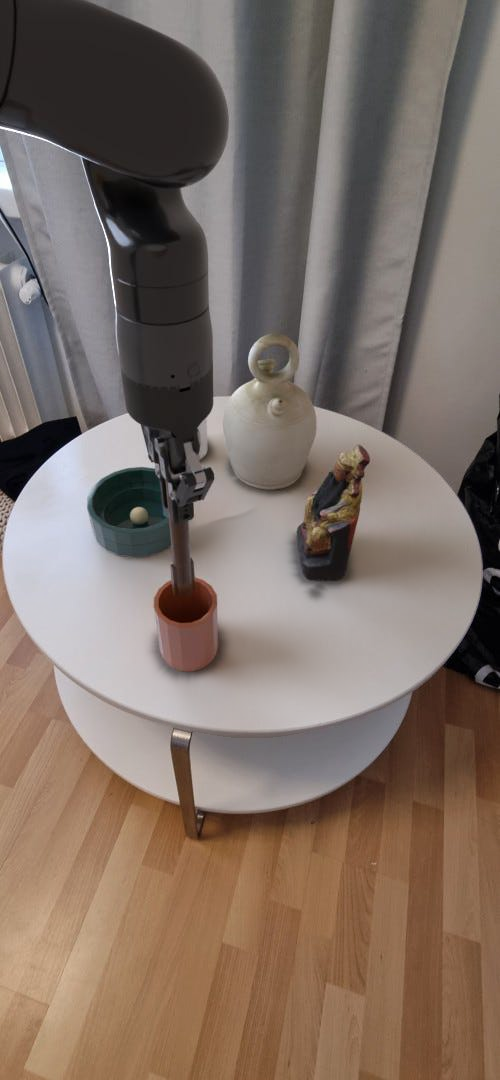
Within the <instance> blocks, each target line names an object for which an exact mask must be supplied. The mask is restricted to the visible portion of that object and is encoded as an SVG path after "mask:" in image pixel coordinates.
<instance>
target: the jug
mask: <svg viewBox="0 0 500 1080" xmlns="http://www.w3.org/2000/svg"><path fill="white" fill-rule="evenodd" d="M273 346H279V347H281V348H284V349H285V350H286V351H287V352H288V354H289V357H288V358H289V359H288V362H287V364H286V366H285V367H283V368H282V369H280V370H278V371H274V369H275V368H274V366H275V363H276V360H275V359H274V358H272V359H271V358H268V359H260V356H261V355H262V353H263V352H264V351H265V350H266V349H267V350H268V348H270V347H273ZM247 363H248V368H249V371H250V373H251V374H252V376H253V379H251V380H250V381H247V382H245V383H244V384H242V385H240V386H239V387H238V388H237V389H236V390H235V391H234V392H233V393H232V395H231V396H230V398H229V399H228V401H227V403H226V405H225V409H224V411H223V416H222V430H223V436H224V441H225V445H226V450H227V454H228V459H229V462H230V464H231V465H230V466H231V467H232V470H233V472H234V474H235V476H236V477H237V478H238V479H239V480H240V481H241V482H242V483H243V484H246V485H248V486H249V487H252V488H255V489H259V490H262V491H275V490H282V489H285V488H287V487H290V486H292V485H293V484H295V483H296V482H297V481H298V480H299V478H300V477H301V475H302V473H303V471H304V468H305V466H306V464H307V461H308V458H309V456H310V453H311V451H312V447H313V444H314V441H315V438H316V434H317V415H316V409H315V406H314V404H313V402H312V400H311V398H310V396H309V394H307V392H306V391H305V390H304V389H302V387H300V386H299V385H297V384H295V383H294V382H292V381H290V379H291V378H293V377H294V376H295V374H296V372H297V371H298V369H299V365H300V353H299V349H298V347H297V345H296V343H295V342H294V341H293V340H292V339H291V338H290V337H288V336H287V335H285V334H283V333H282V334H281V333H278V332H273V333H267V334H265V335H263V336H261V337H260V338H259V339H257V341H255V342H254V343H253V345H252V346H251V348H250V350H249V353H248V358H247Z"/></svg>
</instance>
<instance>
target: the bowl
mask: <svg viewBox="0 0 500 1080" xmlns="http://www.w3.org/2000/svg"><path fill="white" fill-rule="evenodd" d="M136 507H142V508H144V509H145V510H146V511H147V513H148V520H147V521H146V522H145V523H144V524H142V525H136V524H134V523H133V522H132V521H131V519H130V513H131V511H132V510H133V509H134V508H136ZM86 510H87V514H88V518H89V522H90V526H91V530H92V534H93V536H94V538H95V540H96V542H97V543H98V544H99V545H100V546H102V548H103V549H105V550H106V551H108V552H110V553H113V554H115V555H116V556H121V557H128V558H140V557H149V556H153V555H155V554H158V553H162V552H164V551H166V550H168V549H169V548H172V547H171V536H170V525H169V514H168V508H165V507H164V505H163V504H162V499H161V490H160V480H159V478H158V476H157V475H156V473H155V467H146V466H134V467H127V468H122V469H120V470H115V471H113V472H111V473H108V475H105V476H104V477H101V479H99V480H98V481H97V482H96V483H95V484H94V485H93V486H92V487H91V489H90V491H89V493H88V496H87V499H86Z"/></svg>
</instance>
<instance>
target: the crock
mask: <svg viewBox="0 0 500 1080" xmlns="http://www.w3.org/2000/svg"><path fill="white" fill-rule="evenodd" d="M153 613H154V619H155V626H156V630H157V631H156V633H157V640H158V647H159V651H160V654H161V658H162V659H163V661H164V662H165V663H166V664H167V665H168V666H169V667H171V668H172V669H174V670H177V671H180V672H194V671H198V670H202V669H203V668H206V667H207V666H208V665H209V664H211V662H212V661H213V660H214V659H215V657H216V656H217V652H218V650H219V649H218V648H219V633H218V632H219V626H218V625H219V623H218V621H219V620H218V619H219V618H218V617H219V616H218V595H217V593H216V591H215V589H214V587H213V585H212V584H210V583H208V582H207V581H205V580H204V579H202V578H198V577H195V590H193V591H192V593H191V595H189V596H188V597H180V596H176V597H175V596H174V594H173V590H172V580H171V579H170V580H168V581H166V582H165V583H163V585H161V586H160V587H159V588H158V589H157V592H156V593H155V595H154V597H153Z"/></svg>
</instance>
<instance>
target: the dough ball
mask: <svg viewBox="0 0 500 1080" xmlns="http://www.w3.org/2000/svg"><path fill="white" fill-rule="evenodd" d="M130 519H131V521H132V522H133V523H134V524H136V525H142V524H144V523H145V522H146V521H147V520H148V513H147V511H146V510H145V509H144V508H142V507H136V508H134V509H133V510H132V511H131V513H130Z"/></svg>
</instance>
